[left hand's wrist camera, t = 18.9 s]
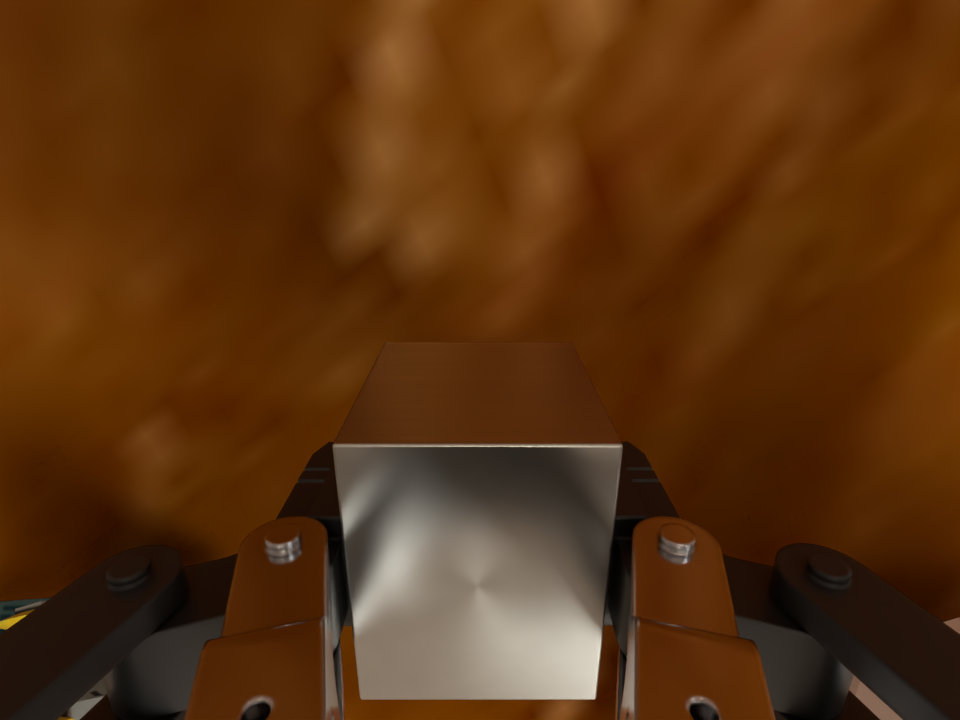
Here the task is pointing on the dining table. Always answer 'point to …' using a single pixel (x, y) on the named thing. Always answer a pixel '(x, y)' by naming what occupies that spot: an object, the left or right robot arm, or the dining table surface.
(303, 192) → the dining table surface
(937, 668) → the left robot arm
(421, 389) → the block
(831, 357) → the dining table surface
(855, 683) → the sphere
